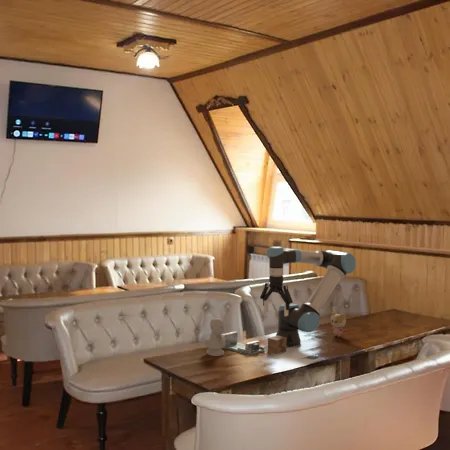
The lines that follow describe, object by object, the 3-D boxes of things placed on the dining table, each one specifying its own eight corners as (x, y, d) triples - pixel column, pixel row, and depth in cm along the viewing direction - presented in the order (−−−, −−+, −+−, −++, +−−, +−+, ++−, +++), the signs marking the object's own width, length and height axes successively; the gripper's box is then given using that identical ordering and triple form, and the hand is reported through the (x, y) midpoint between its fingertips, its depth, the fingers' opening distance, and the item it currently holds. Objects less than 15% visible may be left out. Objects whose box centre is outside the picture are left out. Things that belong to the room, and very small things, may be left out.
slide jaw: (256, 347, 327) (256, 340, 327) (262, 349, 324) (263, 342, 323) (245, 350, 320) (245, 343, 320) (251, 352, 317) (251, 345, 316)
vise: (234, 343, 340) (235, 331, 339) (264, 351, 325) (264, 338, 324) (220, 347, 331) (220, 334, 331) (249, 355, 316) (250, 342, 316)
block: (277, 349, 330) (278, 335, 330) (286, 351, 326) (286, 337, 326) (267, 352, 324) (268, 338, 323) (276, 354, 320) (276, 340, 319)
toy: (326, 335, 365) (327, 311, 364) (335, 333, 371) (336, 310, 370) (339, 339, 358) (340, 314, 357) (348, 337, 364) (349, 313, 363)
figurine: (229, 353, 320) (230, 317, 319) (214, 357, 310) (216, 321, 309) (215, 349, 326) (217, 315, 325) (201, 354, 316) (202, 318, 315)
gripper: (253, 273, 324) (253, 311, 326) (291, 278, 308) (290, 318, 309) (262, 272, 330) (262, 309, 331) (299, 276, 313) (298, 316, 315)
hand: (276, 313), depth 320 cm, fingers open, 13 cm apart
